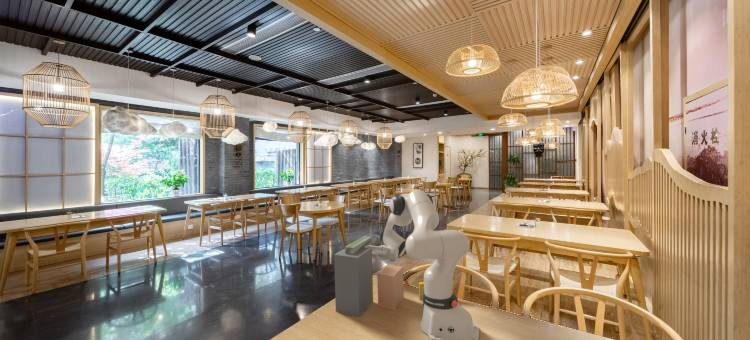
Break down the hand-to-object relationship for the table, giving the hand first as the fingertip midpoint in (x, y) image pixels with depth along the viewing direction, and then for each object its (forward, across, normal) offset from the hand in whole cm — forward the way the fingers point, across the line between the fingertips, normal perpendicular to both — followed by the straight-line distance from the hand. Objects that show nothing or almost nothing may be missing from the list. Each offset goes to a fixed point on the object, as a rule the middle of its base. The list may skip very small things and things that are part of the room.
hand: (374, 247), depth 150 cm
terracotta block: (0, +14, +24) cm, 28 cm away
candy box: (-10, +33, +19) cm, 39 cm away
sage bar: (+17, 0, +4) cm, 18 cm away
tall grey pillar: (+9, 0, +30) cm, 31 cm away
